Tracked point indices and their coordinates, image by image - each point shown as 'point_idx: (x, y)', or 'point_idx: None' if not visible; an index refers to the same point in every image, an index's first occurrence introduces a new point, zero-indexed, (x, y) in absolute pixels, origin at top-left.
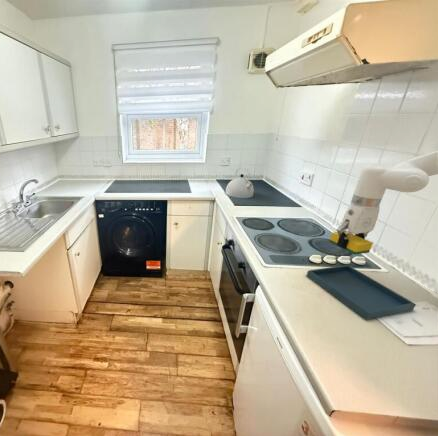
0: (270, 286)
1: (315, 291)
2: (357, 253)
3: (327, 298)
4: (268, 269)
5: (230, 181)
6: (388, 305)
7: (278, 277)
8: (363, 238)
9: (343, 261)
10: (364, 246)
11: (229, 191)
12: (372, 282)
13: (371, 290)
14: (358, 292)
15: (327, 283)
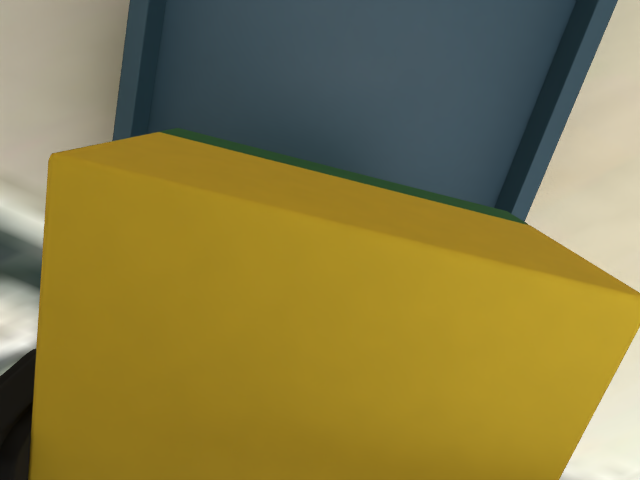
0: None
1: (583, 208)
2: (463, 201)
3: (598, 128)
4: (589, 468)
5: None
6: None
7: (625, 396)
8: (15, 426)
9: (12, 313)
10: (373, 208)
11: None
12: (150, 43)
13: (238, 8)
14: (360, 46)
15: (528, 200)
